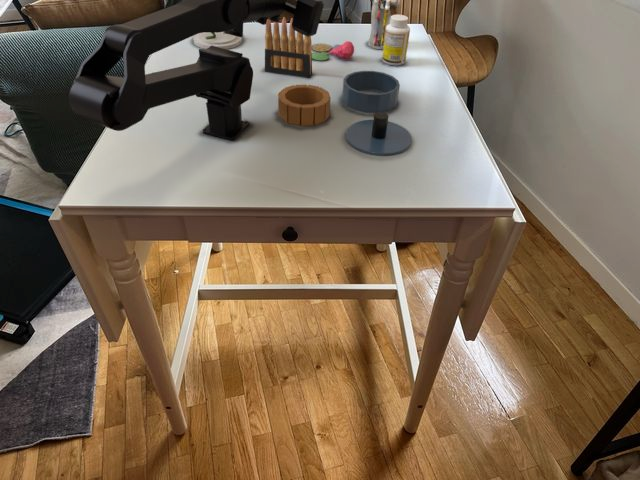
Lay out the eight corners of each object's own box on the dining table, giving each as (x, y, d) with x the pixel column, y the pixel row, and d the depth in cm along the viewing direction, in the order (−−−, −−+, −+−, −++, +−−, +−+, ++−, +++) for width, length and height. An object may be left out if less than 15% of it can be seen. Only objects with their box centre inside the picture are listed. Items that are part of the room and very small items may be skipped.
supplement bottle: (394, 55, 119) (401, 11, 112) (409, 63, 116) (417, 18, 109) (377, 59, 117) (382, 15, 110) (391, 68, 114) (398, 22, 107)
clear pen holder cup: (362, 47, 123) (369, -18, 113) (370, 38, 128) (377, -25, 117) (389, 52, 121) (398, -14, 111) (396, 42, 126) (405, -21, 116)
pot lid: (401, 164, 83) (406, 138, 80) (336, 149, 86) (337, 123, 83) (417, 132, 92) (422, 107, 88) (357, 119, 95) (359, 94, 91)
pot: (388, 120, 95) (391, 99, 92) (334, 108, 98) (335, 87, 95) (402, 96, 103) (405, 76, 100) (352, 86, 105) (353, 66, 103)
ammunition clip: (312, 74, 109) (313, 19, 101) (310, 77, 108) (311, 21, 100) (267, 68, 111) (265, 13, 103) (264, 71, 110) (262, 15, 102)
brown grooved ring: (318, 132, 90) (318, 111, 88) (270, 121, 93) (269, 101, 90) (335, 110, 97) (337, 90, 94) (291, 100, 100) (291, 80, 97)
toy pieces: (362, 50, 121) (364, 32, 118) (346, 66, 113) (348, 47, 110) (319, 42, 124) (319, 24, 121) (300, 57, 117) (300, 38, 114)
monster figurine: (192, 33, 126) (186, -10, 119) (238, 31, 128) (235, -12, 121) (195, 51, 117) (188, 5, 110) (244, 48, 119) (241, 3, 113)
